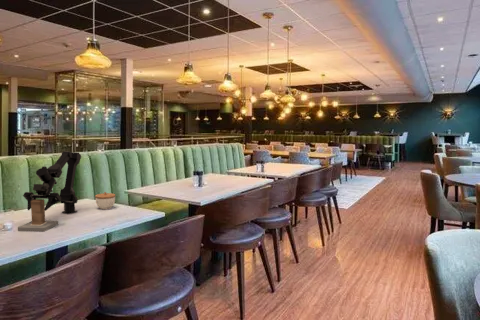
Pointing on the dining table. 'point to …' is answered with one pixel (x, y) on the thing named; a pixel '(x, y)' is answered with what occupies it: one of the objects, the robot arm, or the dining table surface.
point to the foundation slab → (38, 226)
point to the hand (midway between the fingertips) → (36, 210)
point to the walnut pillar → (38, 211)
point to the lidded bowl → (105, 200)
